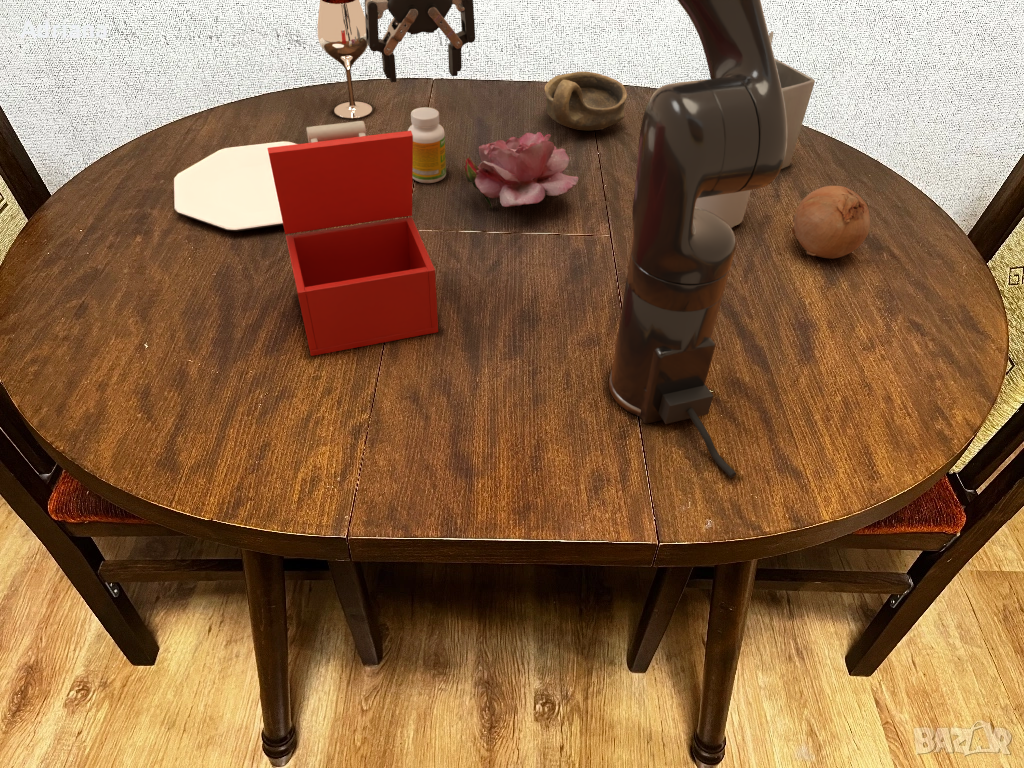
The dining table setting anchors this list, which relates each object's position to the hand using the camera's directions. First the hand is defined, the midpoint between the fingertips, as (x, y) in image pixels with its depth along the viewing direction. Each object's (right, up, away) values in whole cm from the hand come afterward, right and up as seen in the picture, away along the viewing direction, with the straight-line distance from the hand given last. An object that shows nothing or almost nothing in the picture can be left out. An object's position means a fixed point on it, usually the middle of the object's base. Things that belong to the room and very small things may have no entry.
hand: (423, 77), depth 105 cm
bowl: (+23, +1, +23) cm, 33 cm away
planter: (+52, -7, +16) cm, 55 cm away
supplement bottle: (0, -11, +10) cm, 15 cm away
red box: (-5, -34, -14) cm, 37 cm away
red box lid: (-6, -21, -22) cm, 31 cm away
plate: (-24, -14, +6) cm, 28 cm away
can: (+41, -19, +3) cm, 45 cm away
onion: (+54, -24, -2) cm, 59 cm away
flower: (+13, -16, +5) cm, 22 cm away
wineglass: (-15, +4, +26) cm, 30 cm away
